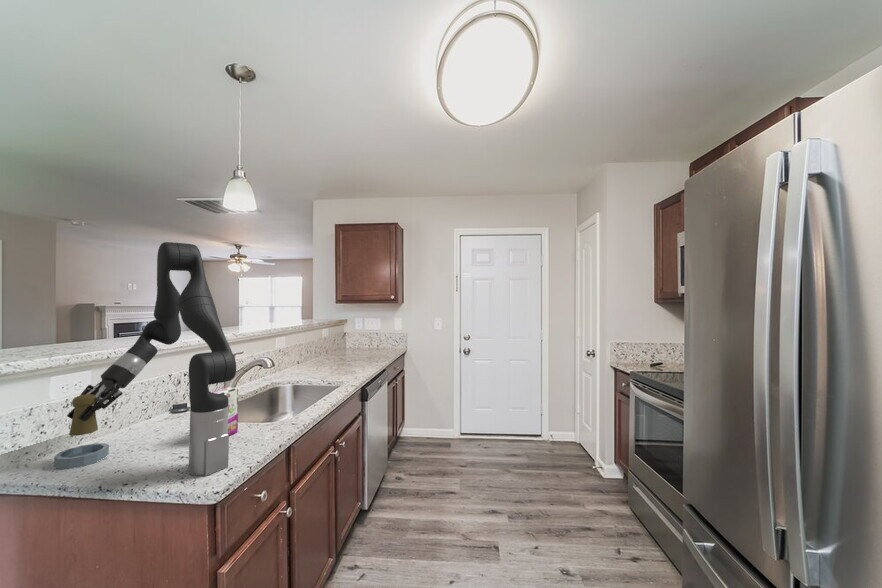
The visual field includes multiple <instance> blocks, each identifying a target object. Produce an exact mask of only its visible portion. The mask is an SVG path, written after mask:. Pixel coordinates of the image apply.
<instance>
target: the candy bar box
mask: <svg viewBox="0 0 882 588" xmlns="http://www.w3.org/2000/svg"><path fill="white" fill-rule="evenodd" d="M210 392H211V393H216V394H224V395H226V396H228V400H229V401H228V434H229V437H230V436H233V435H234V434H236V433H237V432H238V428H239V427H238V426H239V425H238V424H239V423H238V422H239V420H238V418H239V411H238V410H239V388H238V387H229V386H227V387H224V388H220V389H218V390H215V391H210Z"/></svg>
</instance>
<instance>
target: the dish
mask: <svg viewBox="0 0 882 588" xmlns="http://www.w3.org/2000/svg"><path fill="white" fill-rule="evenodd" d="M109 450H110V449H109V444H107V443H105V442H104V443H103V442H100V443H99V442H97V443H89V444H88V443H87V444H81V445H79V446H74V447H69V448H67V449H65V450H62V451H60V452H58V453H56V455H54V458H53V460H54V462H53V467H54V468H55V467H56V469H57V470H70V469H69V468H71V469H75V468H74V467H76V468H81V467H80V466H82V467H85V465H86V466H89V465H92V464H96V463H98V462H100V461H102V460H104V459H106V458H107V457H108V456H109V454H110V453H109ZM107 455H108V456H107ZM106 456H107V457H106ZM105 457H106V458H105ZM103 458H104V459H103ZM101 459H102V460H101ZM99 460H100V461H99ZM97 461H98V462H97ZM95 462H96V463H95ZM88 464H89V465H88Z"/></svg>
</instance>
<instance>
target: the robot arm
mask: <svg viewBox="0 0 882 588" xmlns="http://www.w3.org/2000/svg"><path fill="white" fill-rule="evenodd" d="M171 271H172V272H173V271H174V272H175V271H177V272H179V271H181V272H183V271H184V272H185V271H186V272H189V275H190V278H189V281H188V283H187V284H186V286H184V287H185V288H183V290H182V292H181V293H180V292H179V291H178V289H177V288H176V286H175V285H174V283H173V282H172V279H171V277H170V273H171ZM214 301H215V300H214V299H213V296H212V293H211V291H210V288H209V284H208V281H207V277H206V273H205V268H204V263H203V258H202V253H201V250H200V249H199V247H198V246H197V245H196V244H192V243H186V242H184V243H183V242H170V241H164V242H161V244H160V245H159V247H158V250H157V255H156V300H155V305H154V311H153V318H154V320H151V321H149V322H148V323H147V324H146V325H145V326H144V328H143V330H142V332H141V334H140V336H139V337H138V339H136V341H135V343H134V344H133V345H132V346H131V347H130V348H129V349H128V350H127V351H126V352H125V353H124V354H122V355H121V356H120V357H118V358H117V360H115V361H114V362H113V363H112V364H111V365H110V366H109V367H108V368H107V369H105V370H104V371H103V372H102V374H100V379H101V381H99V382H98V383H97V384H95V385H92V384H88V385H87V386H86V387H85V388H84V390H83V391H82V392H81V393H80V394H79V396H81V395H86V394H93V395H95V400H94V402H93V403H92V404H91V405H90V406H91V407H88V408H87V409H86V410H85V411H84V412H83V413H82V414H81V415H80V416H79V417H78V419H80V420H82V421H87V420H88V419H89V418H90V417H91V416H92V414H93V413H94V412H95V413H96V411H99V410H101V409H103V410H105V409H106V408H108V406H110V405H111V404H112V403H114V402H115V401H116V400H117V399H119V398H120V397H121V396H122V395H124V394H123V392H122V391H121V389H125V388H126V387H127V386H129V384H131V383H132V381H133V380H134V379H135V378H136V377H137V376H138V375H139V374H140V373H141V372H142V370H144V368H145V367H146V366H147V364H148V363H149V362H150V361H151V360H152V359H153V358H154V357H155V356H156V355H157V354H158V348H157V347H156V346H155V345H154V344H152V343H151V341H152V340H154V341H156V342H159V343H161V344H163V345H168V346H169V345H173V344H175V343H176V342H177V341H179V339H180V337H181V334H182V326H181V321H180V318H181V320H182V323H183V324H184V325H185V326H186V327H187V328H188V329H189V330H190V331H192V333H194V334H196V335H197V336H198V337H199V338H200V339H202V340H203V341H204V342H205V343H206V344H207V346H208V347H209V350H210V351H211V352H201V353H196V354H194V355H193V356H192V357H190V361H189V364H188V382H189V383H188V385H189V386H188V387H189V388H188V389H189V391H188V392H189V395H188V396H189V406H190V410H189V441H188V474H189V475H192V476H205V477H207V476H209V475H211V474H214V473H216V472H218V471H222V470H223V469H226V468H228V467H229V447H230V446H229V445H230V444H229V443H230V436H229V434H228V401H229V400H228V396H226V395H224V394H216V393H211V392H212V391H210V389H209V386H210V385H215V384H222V383H226V382H230V381H232V380H233V379H235V377H236V374H237V363H236V359H235V356H234V353H233V351H232V349H231V347H230V345H229V342H228V340H227V337H226V335H225V333H224V331H223V330H224V329H223V328H222V325H221V322H220V317H219V315H218V312H217V311H218V310H217V307H216V304H215V302H214ZM179 315H180V316H179ZM74 409H75V407H73V409H72V410H71V411H69V412H68V414H67V415H66V417H67V418H69V419H71V420H72V419H73V414H74Z"/></svg>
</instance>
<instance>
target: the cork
mask: <svg viewBox="0 0 882 588" xmlns="http://www.w3.org/2000/svg"><path fill="white" fill-rule="evenodd" d="M80 395H81V394H80ZM80 395H77V396H75V397H74V398H73V399H72V402H71V405H72V407H73V409H74V408H75V409H74V414H73V419H71V424H70V428H69V434H68V435H69V436H73V437H75V436H76V437H77V436H83V435H84V436H85V435H88V434H92V433H95V432H96V431H98V430H99V426H98V422H97V415H96V411H95V412H94V413H93V414H92V416H91V417H90V418H89V419H88V420H87V421H82V420H80V419H78V417H79V416H80V415H81V414H82V413H83V412H84V411H85V410H86V409H87V408H88V407H91V406H90V405H91V404H92V403H93V402H94V400H95V395H93V394H86V395H81V396H80Z"/></svg>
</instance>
